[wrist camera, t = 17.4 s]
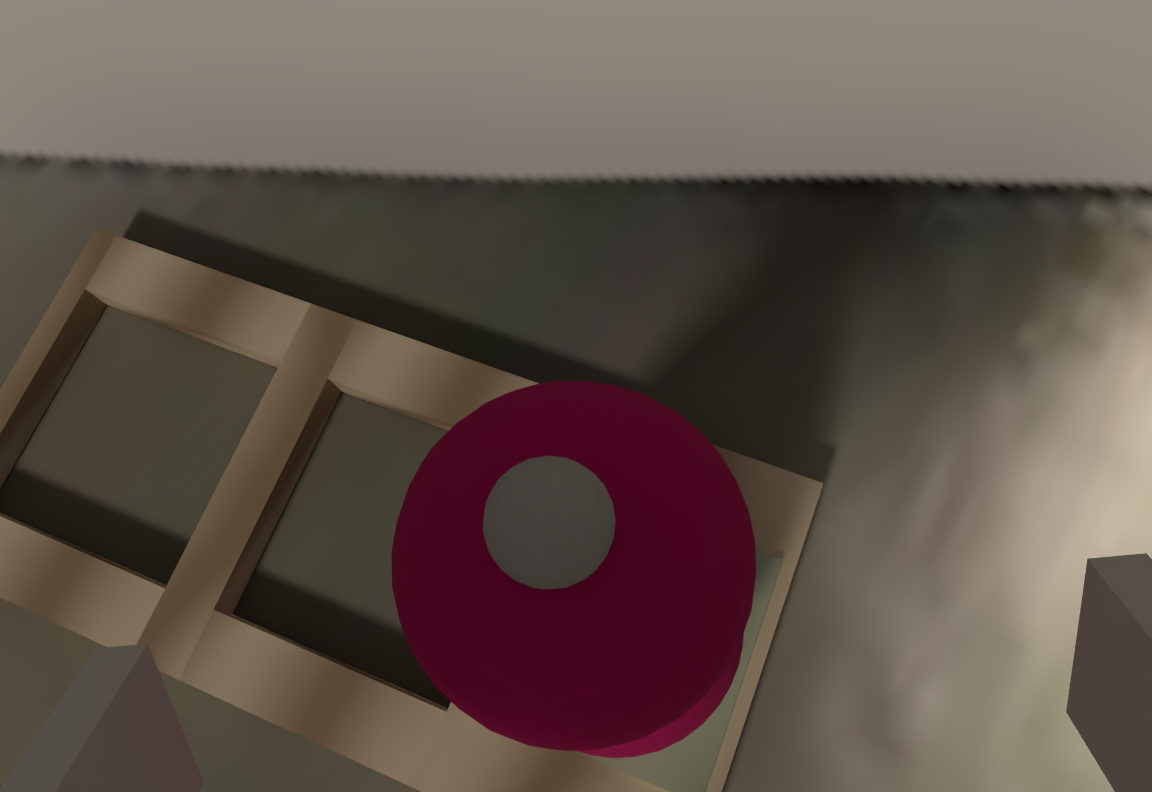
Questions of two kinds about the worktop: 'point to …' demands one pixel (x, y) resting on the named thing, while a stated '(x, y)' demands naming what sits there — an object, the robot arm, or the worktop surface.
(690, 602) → the pepper mill
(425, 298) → the worktop surface
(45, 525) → the worktop surface
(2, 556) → the board
